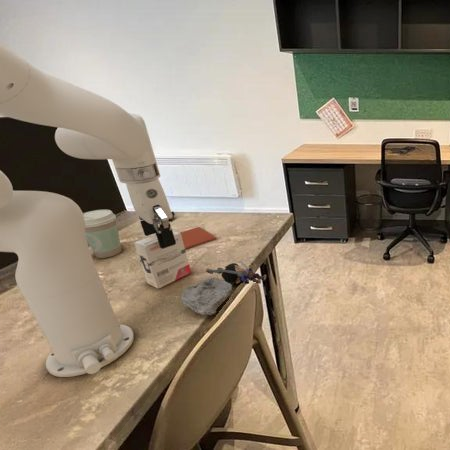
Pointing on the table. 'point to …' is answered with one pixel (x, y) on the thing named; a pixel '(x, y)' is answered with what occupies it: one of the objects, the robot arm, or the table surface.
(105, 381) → the table surface
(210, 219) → the table surface
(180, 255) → the ink box
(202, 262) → the table surface
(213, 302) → the stone
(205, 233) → the side mat
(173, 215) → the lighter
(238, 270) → the toy
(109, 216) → the coffee cup
